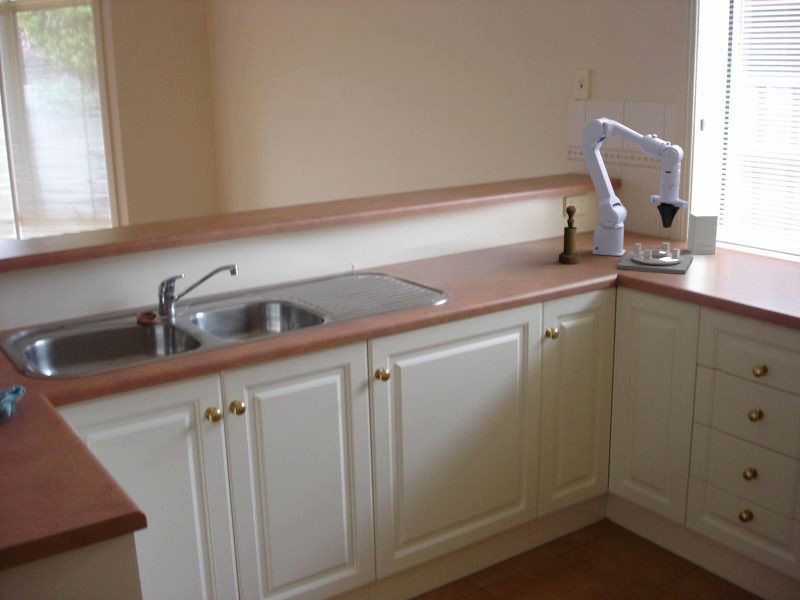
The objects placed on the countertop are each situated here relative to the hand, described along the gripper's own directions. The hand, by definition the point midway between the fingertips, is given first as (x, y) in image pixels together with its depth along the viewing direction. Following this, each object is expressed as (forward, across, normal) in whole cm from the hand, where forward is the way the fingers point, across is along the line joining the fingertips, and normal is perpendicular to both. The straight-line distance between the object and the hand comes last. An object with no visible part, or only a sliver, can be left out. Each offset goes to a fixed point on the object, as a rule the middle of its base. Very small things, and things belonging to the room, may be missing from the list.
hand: (666, 227), depth 299 cm
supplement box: (+10, -2, +18) cm, 20 cm away
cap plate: (+10, +4, -7) cm, 13 cm away
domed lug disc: (+9, +4, -7) cm, 12 cm away
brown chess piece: (+11, -12, -28) cm, 33 cm away
